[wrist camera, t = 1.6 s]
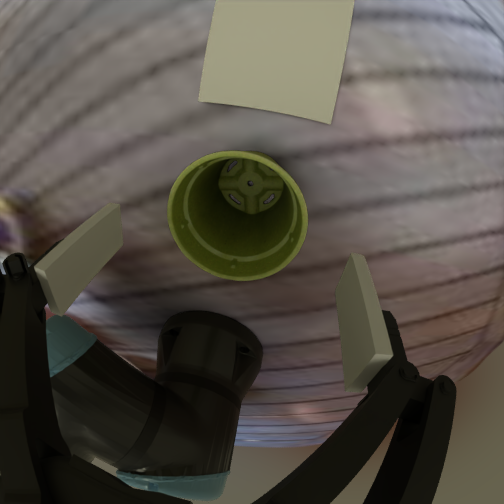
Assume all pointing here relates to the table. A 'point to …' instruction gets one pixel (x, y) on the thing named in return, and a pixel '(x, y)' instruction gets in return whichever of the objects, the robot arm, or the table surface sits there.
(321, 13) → the plate
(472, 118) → the table surface
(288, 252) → the plant pot
